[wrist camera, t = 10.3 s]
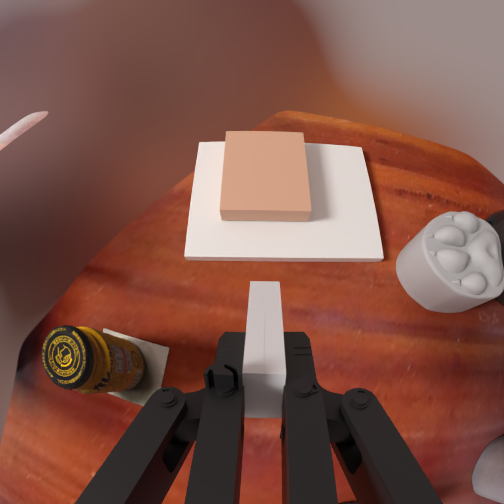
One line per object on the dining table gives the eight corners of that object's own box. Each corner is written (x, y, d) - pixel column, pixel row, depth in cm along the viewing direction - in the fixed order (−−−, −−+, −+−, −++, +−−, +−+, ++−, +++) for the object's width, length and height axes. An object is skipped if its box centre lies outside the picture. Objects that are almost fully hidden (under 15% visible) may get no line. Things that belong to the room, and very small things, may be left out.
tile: (307, 222, 35) (300, 145, 40) (311, 211, 33) (303, 132, 37) (221, 221, 35) (227, 144, 40) (219, 209, 33) (226, 131, 37)
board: (359, 152, 41) (361, 147, 40) (380, 261, 34) (383, 258, 33) (200, 147, 41) (199, 142, 40) (186, 260, 35) (184, 256, 34)
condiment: (104, 328, 32) (44, 304, 21) (170, 347, 31) (126, 333, 20) (91, 386, 29) (26, 384, 18) (156, 410, 28) (107, 426, 17)
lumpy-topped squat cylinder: (474, 314, 32) (516, 297, 24) (395, 308, 32) (432, 287, 24) (468, 244, 35) (503, 216, 27) (394, 229, 36) (423, 193, 28)
